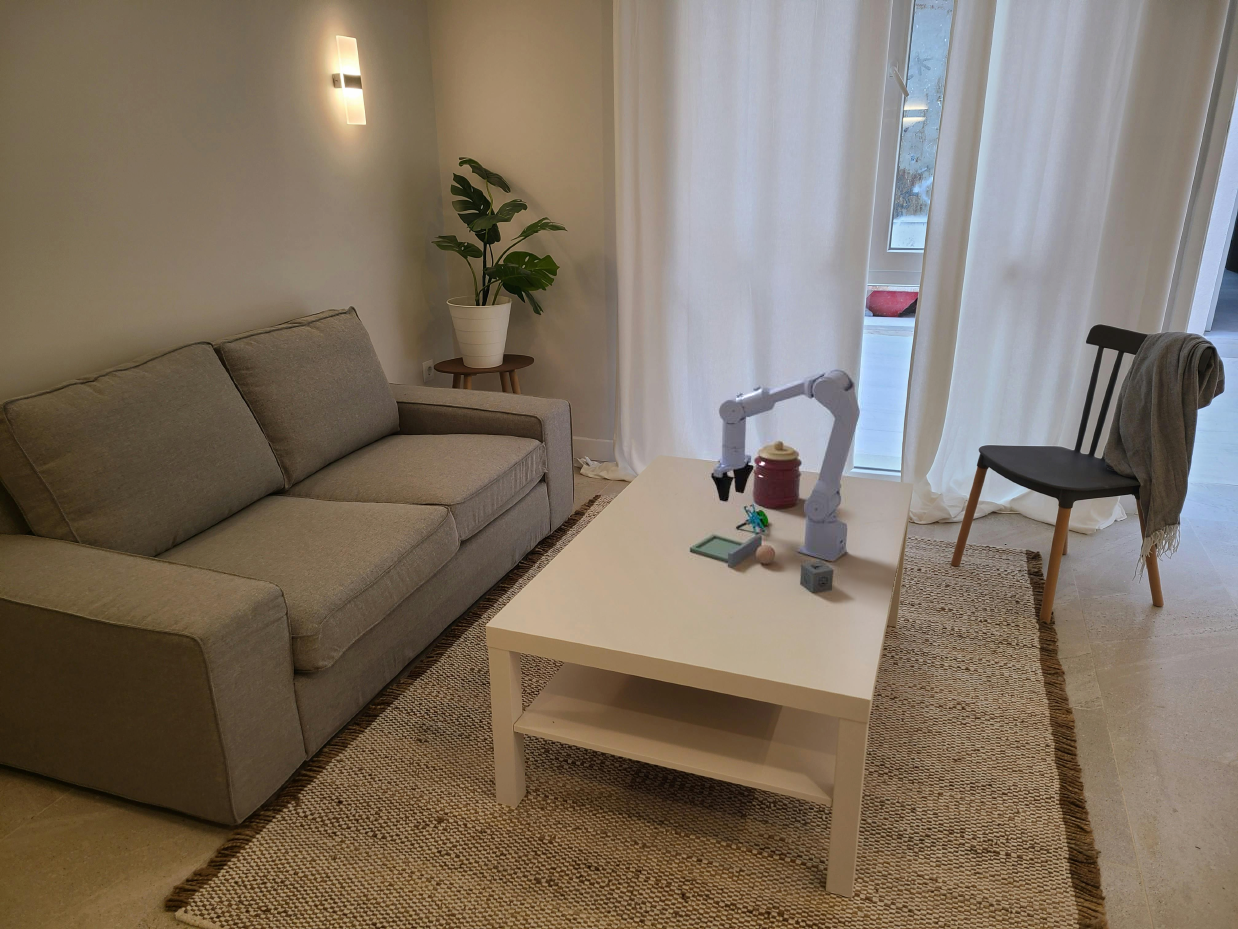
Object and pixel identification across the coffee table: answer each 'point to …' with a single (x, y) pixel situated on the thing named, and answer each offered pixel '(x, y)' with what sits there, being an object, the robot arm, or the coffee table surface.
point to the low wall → (744, 550)
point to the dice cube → (816, 577)
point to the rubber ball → (765, 554)
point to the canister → (777, 476)
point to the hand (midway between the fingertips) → (731, 496)
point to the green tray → (715, 547)
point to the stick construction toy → (755, 519)
